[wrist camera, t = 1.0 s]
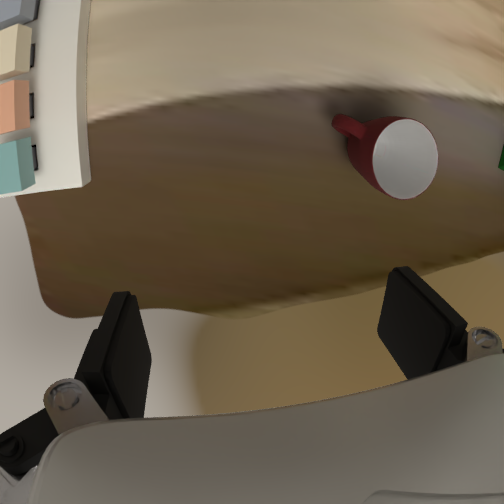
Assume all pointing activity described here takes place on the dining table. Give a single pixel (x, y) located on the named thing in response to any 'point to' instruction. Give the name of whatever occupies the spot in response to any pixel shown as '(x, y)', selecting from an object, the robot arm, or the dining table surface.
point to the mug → (391, 153)
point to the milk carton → (502, 161)
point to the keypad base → (58, 96)
